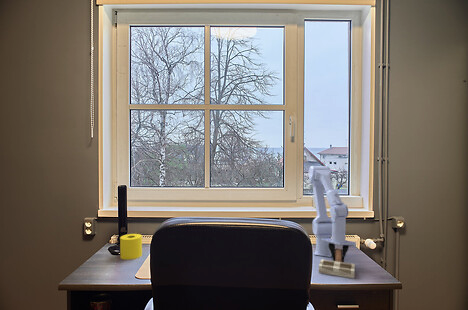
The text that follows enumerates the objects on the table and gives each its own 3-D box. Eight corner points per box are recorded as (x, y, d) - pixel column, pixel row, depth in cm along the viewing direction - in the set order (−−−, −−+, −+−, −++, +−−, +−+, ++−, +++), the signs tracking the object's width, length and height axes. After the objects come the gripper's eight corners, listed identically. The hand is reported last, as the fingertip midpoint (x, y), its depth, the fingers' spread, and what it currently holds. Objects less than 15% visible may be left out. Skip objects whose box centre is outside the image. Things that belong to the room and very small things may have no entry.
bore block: (321, 265, 134) (321, 259, 134) (354, 270, 129) (354, 264, 129) (318, 272, 127) (318, 265, 127) (354, 278, 121) (354, 271, 121)
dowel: (335, 262, 138) (335, 247, 137) (342, 264, 136) (342, 248, 136) (334, 265, 135) (334, 250, 135) (341, 266, 133) (342, 251, 133)
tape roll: (125, 252, 152) (125, 233, 152) (144, 252, 151) (144, 233, 151) (116, 259, 142) (116, 239, 142) (137, 259, 141) (137, 239, 141)
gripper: (321, 231, 134) (320, 261, 135) (355, 235, 129) (355, 266, 129) (323, 227, 141) (322, 256, 141) (356, 231, 135) (355, 261, 135)
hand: (338, 260), depth 135 cm, fingers closed on dowel, 3 cm apart
